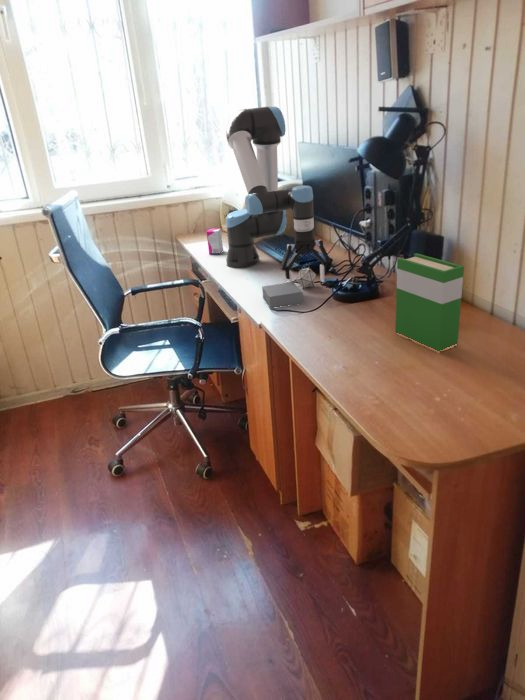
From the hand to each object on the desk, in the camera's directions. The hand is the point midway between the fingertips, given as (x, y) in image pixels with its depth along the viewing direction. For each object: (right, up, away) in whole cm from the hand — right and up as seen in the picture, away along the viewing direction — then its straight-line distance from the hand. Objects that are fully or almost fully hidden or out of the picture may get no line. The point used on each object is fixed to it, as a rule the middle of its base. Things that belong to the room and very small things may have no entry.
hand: (306, 283), depth 212 cm
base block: (-10, -8, -11) cm, 16 cm away
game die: (0, -1, +1) cm, 2 cm away
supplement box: (-40, +22, +57) cm, 73 cm away
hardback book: (+31, -23, -50) cm, 63 cm away
